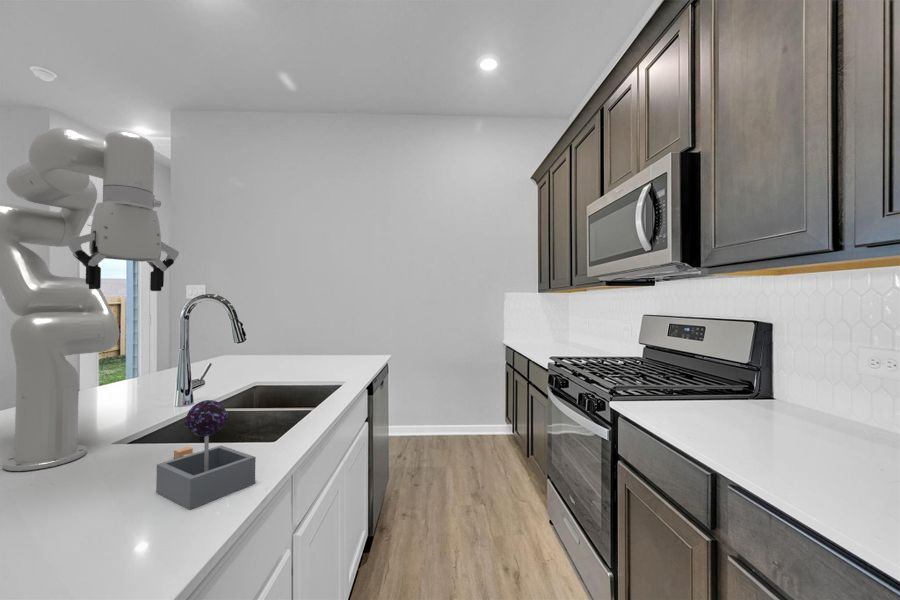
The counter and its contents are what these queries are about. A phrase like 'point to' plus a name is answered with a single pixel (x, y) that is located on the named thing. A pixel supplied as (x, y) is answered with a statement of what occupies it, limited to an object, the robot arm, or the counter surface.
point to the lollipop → (206, 422)
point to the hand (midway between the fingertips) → (126, 290)
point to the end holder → (205, 476)
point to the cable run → (183, 452)
